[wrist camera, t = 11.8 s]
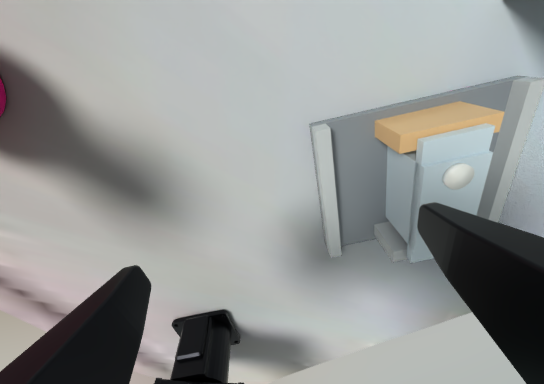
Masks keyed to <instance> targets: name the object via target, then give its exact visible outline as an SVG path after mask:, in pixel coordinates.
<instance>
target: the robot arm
mask: <svg viewBox="0 0 544 384" xmlns="http://www.w3.org/2000/svg"><path fill="white" fill-rule="evenodd" d="M417 229H418V232H419V234H420V236H421V237H422V239H423V241H424V242H425V244H426V245H427V247H428V249H429V250H430V252H431V254H432V255H433V257H434V259H435V260H436V262H437V264H438V265H439V267H440V269H441V270H442V272H443V273H444V275H445V276H446V278H447V279H448V281H449V282H450V283H451V285H452V286H453V287H454V289H455V290H456V291H457V293H458V294H459V295H460V297H461V298H462V299H463V300H464V302H465V303H466V304H467V306H468V307H469V308H470V310H471V311H472V312H473V314H474V315H475V316H476V317H477V319H478V320H479V321H480V323H481V324H482V325H483V327H484V328H485V329H486V331H487V332H488V333H489V335H490V336H491V337H492V339H493V340H494V341H495V343H496V344H497V345H498V347H499V348H500V349H501V351H502V352H503V353H504V355H505V356H506V357H507V359H508V360H509V361H510V362H511V364H512V365H513V366H514V368H515V369H516V370H517V372H518V373H519V374H520V376H521V377H522V378H523V380H524V381H525V382H526V384H544V238H543V237H540V236H537V235H534V234H531V233H528V232H525V231H522V230H519V229H516V228H513V227H510V226H507V225H504V224H501V223H498V222H495V221H492V220H488V219H485V218H482V217H479V216H476V215H473V214H470V213H467V212H464V211H461V210H458V209H455V208H452V207H449V206H446V205H443V204H440V203H437V202H432V203H427V204H423V205H421V206H420V208H419V214H418V223H417ZM150 292H151V283H150V281H149V279H148V278H147V276H146V275H145V273H144V272H143V271H142V269H141V268H140V267H139V266H137V265H134V266H130V267H125V268H123V269H122V270H120V271H119V272H118V273H117V274H116V275H115V276H113V277H112V278H111V279H110V280H109V281H107V282H106V283H105V284H104V285H103V286H101V287H100V288H99V289H98V290H97V291H96V292H94V293H93V294H92V295H91V296H90V297H88V298H87V299H86V300H85V301H84V302H82V303H81V304H80V305H79V306H78V307H77V308H75V309H74V310H73V311H72V312H71V313H69V314H68V315H67V316H66V317H65V318H63V319H62V320H61V321H60V322H59V323H58V324H56V325H55V326H54V327H53V328H52V329H50V330H49V331H48V332H47V333H46V334H45V335H43V336H42V337H41V338H40V339H39V340H37V341H36V342H35V343H34V344H33V345H32V346H30V347H29V348H28V349H27V350H25V351H24V352H23V353H22V354H21V355H20V356H18V357H17V358H16V359H15V360H14V361H12V362H11V363H10V364H9V365H8V366H6V367H5V368H4V369H3V370H2V371H1V372H0V384H129V382H130V379H131V375H132V372H133V368H134V365H135V361H136V358H137V354H138V351H139V347H140V343H141V339H142V335H143V331H144V325H145V320H146V314H147V309H148V303H149V298H150ZM172 327H173V328H174V330H175V331H176V332H177V334H178V335H179V336H180V341H179V344H178V348H177V352H176V356H175V363H174V367H173V371H172V375H171V379H170V380H166V379H162V378H156V380H155V383H154V384H237V383H228V373H229V359H230V346H231V345H235V344H239V343H240V337H239V335H238V333H237V331H236V329H235V327H234V325H233V323H232V321H231V319H230V317H229V315H228V313H227V312H226V311H224V310H222V311H217V312H212V313H206V314H201V315H196V316H191V317H186V318H181V319H176V320H174V321H173V322H172ZM238 384H244V383H238Z"/></svg>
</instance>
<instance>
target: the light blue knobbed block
mask: <svg viewBox="0 0 544 384" xmlns="http://www.w3.org/2000/svg"><path fill="white" fill-rule="evenodd" d="M494 129H495V126H494V125H491V124H488V123H485V124H480V125H476V126H472V127H467V128H463V129H459V130H454V131H450V132H445V133H441V134H437V135H432V136H428V137H423V138H419V139H418V140H417V150H415V151H411V152H406V153H402V154H399V153H397V152H396V151H395V150H393V149H392V148H390V147H389V146H388V147H387V182H386V218H387V219H388V220H389V221H390V223H391V224H392V225H393V226H394V228H395V229H396V230H397V231H398V232H399V234H400V235H401V236H402V237H403V239H404V240H405V241H406V242H407V244H408V246H407V257H406V258H407V259H408V260H409V262H410V263H414V262H419V261H424V260H429V259H434V257H433V255H432V254H431V252H430V250H429V249H428V247H427V245H426V244H425V242H424V241H423V239H422V237H421V236H420V234H419V232H418V229H417V223H418V214H419V208H420V206H421V205H423V204H427V203H432V202H437V203H440V204H443V205H446V206H449V207H452V208H455V209H458V210H461V211H464V212H467V213H470V214H473V215H477V211H478V208H479V204H480V200H481V196H482V193H483V189H484V185H485V181H486V178H487V174H488V170H489V166H490V163H491V159H492V155H493V152H491V151H489V148H490V144H491V141H492V137H493V133H494Z"/></svg>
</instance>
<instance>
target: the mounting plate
mask: <svg viewBox="0 0 544 384" xmlns="http://www.w3.org/2000/svg"><path fill="white" fill-rule="evenodd" d="M543 88H544V78H536V77H525V76H514V77H510V78H505V79H501V80H497V81H493V82H488V83H484V84H480V85H475V86H471V87H467V88H462V89H458V90H454V91H449V92H445V93H441V94H436V95H432V96H428V97H423V98H419V99H415V100H410V101H406V102H402V103H397V104H393V105H389V106H384V107H380V108H376V109H371V110H367V111H363V112H358V113H354V114H350V115H345V116H341V117H337V118H332V119H328V120H324V121H319V122H315V123H311V124H309V125H310V132H311V140H312V147H313V155H314V163H315V170H316V178H317V185H318V193H319V200H320V208H321V215H322V223H323V230H324V238H325V244H326V247H327V249H328V252H329V254H330V257H331V258H334V257H339V256H342V254H341V246H344V245H349V244H353V243H358V242H363V241H368V240H373V239H378V241H379V242H380V244H381V245H382V247H383V248H384V250H385V251H386V253H387V254H388V256H389V257H390V259H391V260H392V262H398V261H403V260H408V259H407V258H406V257H407V246H408V244H407V242H406V241H405V240H404V239H403V237H402V236H401V235H400V234H399V232H398V231H397V230H396V229H395V228H394V226H393V225H392V224H391V223H390V221H389V220H388V219H387V218H386V182H387V147H388V146H389V147H390V148H392V149H393V150H395V151H396V152H397V153H399V154H402V153H406V152H411V151H415V150H417V140H418V139H419V138H423V137H428V136H432V135H437V134H441V133H445V132H450V131H454V130H459V129H463V128H467V127H472V126H476V125H480V124H485V123H488V124H491V125H494V126H495V129H494V133H493V137H492V141H491V144H490V148H489V151H491V152H493V155H492V159H491V163H490V166H489V170H488V174H487V178H486V181H485V185H484V189H483V193H482V196H481V200H480V204H479V208H478V211H477V215H476V216H479V217H482V218H485V219H488V220H492V221H495V222H499V219H500V216H501V213H502V210H503V207H504V204H505V201H506V198H507V195H508V192H509V189H510V186H511V183H512V180H513V177H514V174H515V172H516V169H517V166H518V163H519V160H520V157H521V154H522V151H523V148H524V145H525V142H526V139H527V136H528V133H529V130H530V127H531V124H532V121H533V118H534V115H535V112H536V109H537V106H538V103H539V100H540V97H541V94H542V91H543Z"/></svg>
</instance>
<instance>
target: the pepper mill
mask: <svg viewBox="0 0 544 384" xmlns="http://www.w3.org/2000/svg"><path fill="white" fill-rule="evenodd" d="M5 103H6V94H5V89H4V85H3V82H2V80H1V78H0V116H1V115H2V113H3V111H4V109H5Z"/></svg>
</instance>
